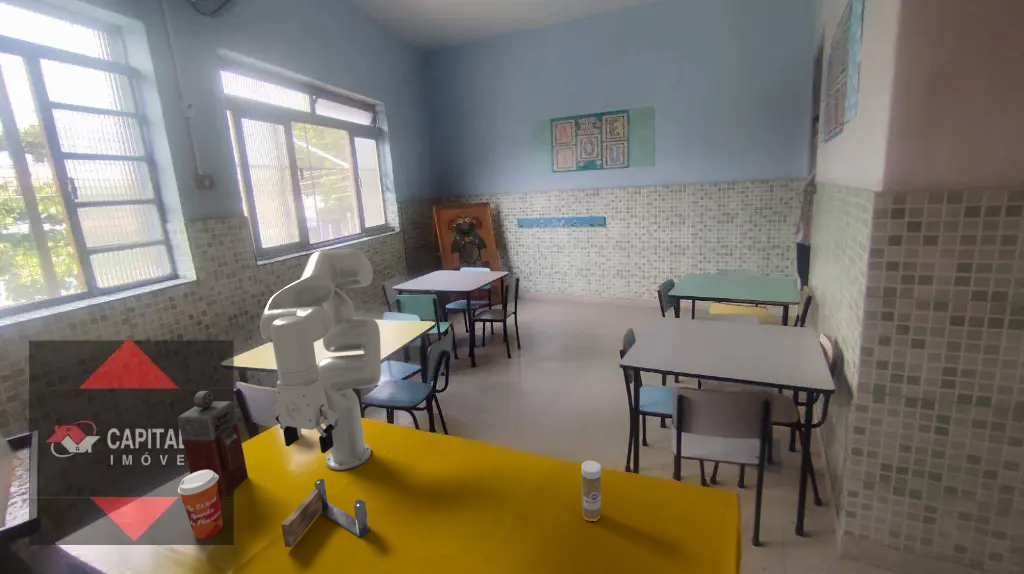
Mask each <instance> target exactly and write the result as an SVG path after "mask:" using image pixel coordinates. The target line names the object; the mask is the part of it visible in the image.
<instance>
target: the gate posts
mask: <svg viewBox="0 0 1024 574" xmlns="http://www.w3.org/2000/svg"><path fill="white" fill-rule="evenodd" d="M314 489H318V490H320V496H321V502H322V508H323V509H322V510H321V512H320V513H319V514H321V515H323V516H325V517H326V518H328V519H329V520H330V521H332V522H334V523H335V524H337V525H339V526H340V527H342V528H343V529H345V530H347V532H350V533H351V534H353V535H354V536H355V537H358V538H361V537H365V536H367V535H368V534H369V533H370V530H371V527H370V526H369V523H368V522H369V521H368V512H367V505H366V504H367V503H366V501H365V500H362V499H361V498H357V499H355V501H354V502H355V503H354V505H353V508H354V509H353V510H354V515H355V517H354V516H352V515H350V514H349V513H347V512H345V511H344V510H342V509H340V507H337V506H335V505H334V504H332V503H330V502H328V495H327V490H326V489H327V488H326V484H325V479H323V478H319V479H317V480H316V481H314Z"/></svg>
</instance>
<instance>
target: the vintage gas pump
mask: <svg viewBox="0 0 1024 574" xmlns="http://www.w3.org/2000/svg"><path fill="white" fill-rule="evenodd" d="M214 399H215V395H214V393H213V392H212V391H211V390H200V391H198V392H196V394H195V395H194V397H193V404H194V406H193V407H192V408H191V409H189V410H187V411H186V412H185V411H184V412H183V413H182V414H181V415H179V416H178V417H177V423H178V426H179V427H178V428H179V433H180V436H181V439H182V445H183V451H184V453H185V458H186V462H187V466H188V471H189V475H190V474H192V473H195V472H197V471H201V470H212V471H213V472H215V473H216V474H217V475H218V476H219V478H218V480H217V486H218V493H219V499H226V498H228V497H229V496H230V495H231V494H233V492H234V491H235V490H236V489H237V488H238V487H240V485H242V484H243V482H245V480H247V479H248V478H249V475H248V470H247V469H248V468H247V464H246V460H245V453H244V449H243V443H242V439H241V435H240V434H241V433H240V429H239V428H240V427H239V423H238V418H237V413H236V407H235V404H234V402H233V401H229V400H227V401H226V400H223V401H222V400H221V401H218V400H214Z"/></svg>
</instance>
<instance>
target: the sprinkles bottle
mask: <svg viewBox="0 0 1024 574" xmlns="http://www.w3.org/2000/svg"><path fill="white" fill-rule="evenodd" d="M580 470H581V471H580V472H581V510H582V511H581V515H582V514H583V515H584V516H585V517H586V518H588V519H596V518H598V517H599V516H600V513H601V506H602V501H601V500H602V492H601V491H602V490H601V489H602V486H601V485H602V483H601V481H602V480H601V478H602V477H601V476H602V465H601V464H600V463H599V462H598V461H595V460H585V461H584V462H582V463H581V469H580Z"/></svg>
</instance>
